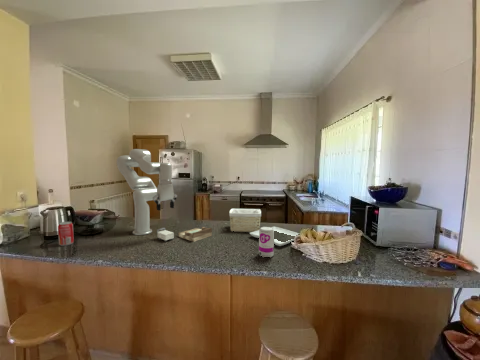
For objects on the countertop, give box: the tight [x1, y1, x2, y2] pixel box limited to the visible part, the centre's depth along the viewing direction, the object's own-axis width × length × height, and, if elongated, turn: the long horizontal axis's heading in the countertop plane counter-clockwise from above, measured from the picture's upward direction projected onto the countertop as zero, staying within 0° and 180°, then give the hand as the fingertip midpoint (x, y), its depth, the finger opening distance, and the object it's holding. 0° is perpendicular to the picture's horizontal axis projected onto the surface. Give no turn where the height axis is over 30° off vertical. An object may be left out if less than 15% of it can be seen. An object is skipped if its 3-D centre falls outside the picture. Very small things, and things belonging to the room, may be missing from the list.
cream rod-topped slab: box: [156, 227, 175, 243], centre depth 145 cm, size 10×6×6 cm, turn 52°
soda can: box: [57, 221, 75, 247], centre depth 133 cm, size 7×7×13 cm
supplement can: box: [258, 226, 275, 258], centre depth 123 cm, size 8×8×15 cm
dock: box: [177, 226, 213, 243], centre depth 153 cm, size 16×16×6 cm
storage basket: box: [228, 208, 262, 233], centre depth 171 cm, size 24×16×15 cm
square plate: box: [249, 226, 300, 247], centre depth 151 cm, size 27×27×4 cm
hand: (165, 208), depth 143 cm, fingers open, 9 cm apart
